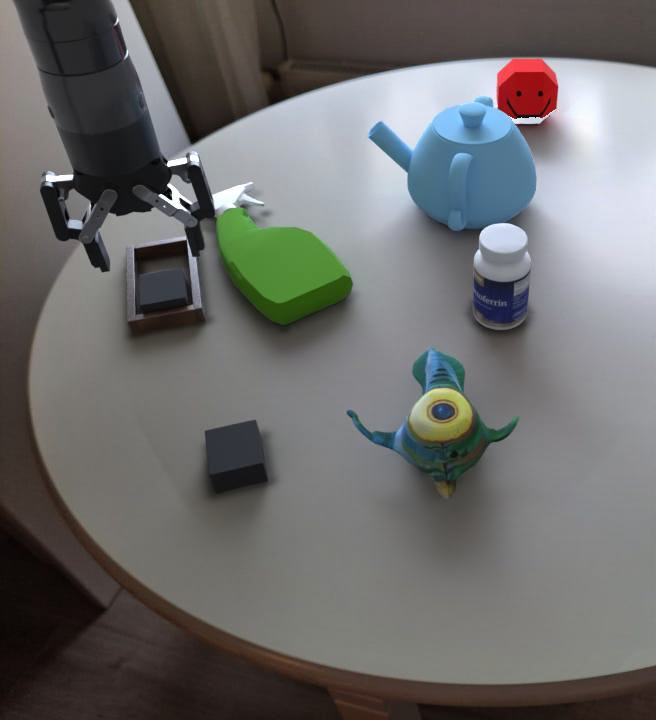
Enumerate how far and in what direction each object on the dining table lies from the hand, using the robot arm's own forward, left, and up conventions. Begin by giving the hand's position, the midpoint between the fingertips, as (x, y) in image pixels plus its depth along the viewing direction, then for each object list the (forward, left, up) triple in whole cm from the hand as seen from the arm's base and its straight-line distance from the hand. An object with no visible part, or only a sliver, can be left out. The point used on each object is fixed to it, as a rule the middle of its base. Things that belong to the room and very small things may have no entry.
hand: (151, 259), depth 80 cm
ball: (+49, +27, -6) cm, 56 cm away
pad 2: (+5, -23, -6) cm, 24 cm away
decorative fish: (+22, -25, -6) cm, 34 cm away
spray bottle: (+11, +6, -6) cm, 14 cm away
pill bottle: (+33, -11, -6) cm, 35 cm away
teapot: (+34, +10, -6) cm, 36 cm away
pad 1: (0, 0, -6) cm, 6 cm away
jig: (0, +3, -6) cm, 7 cm away
